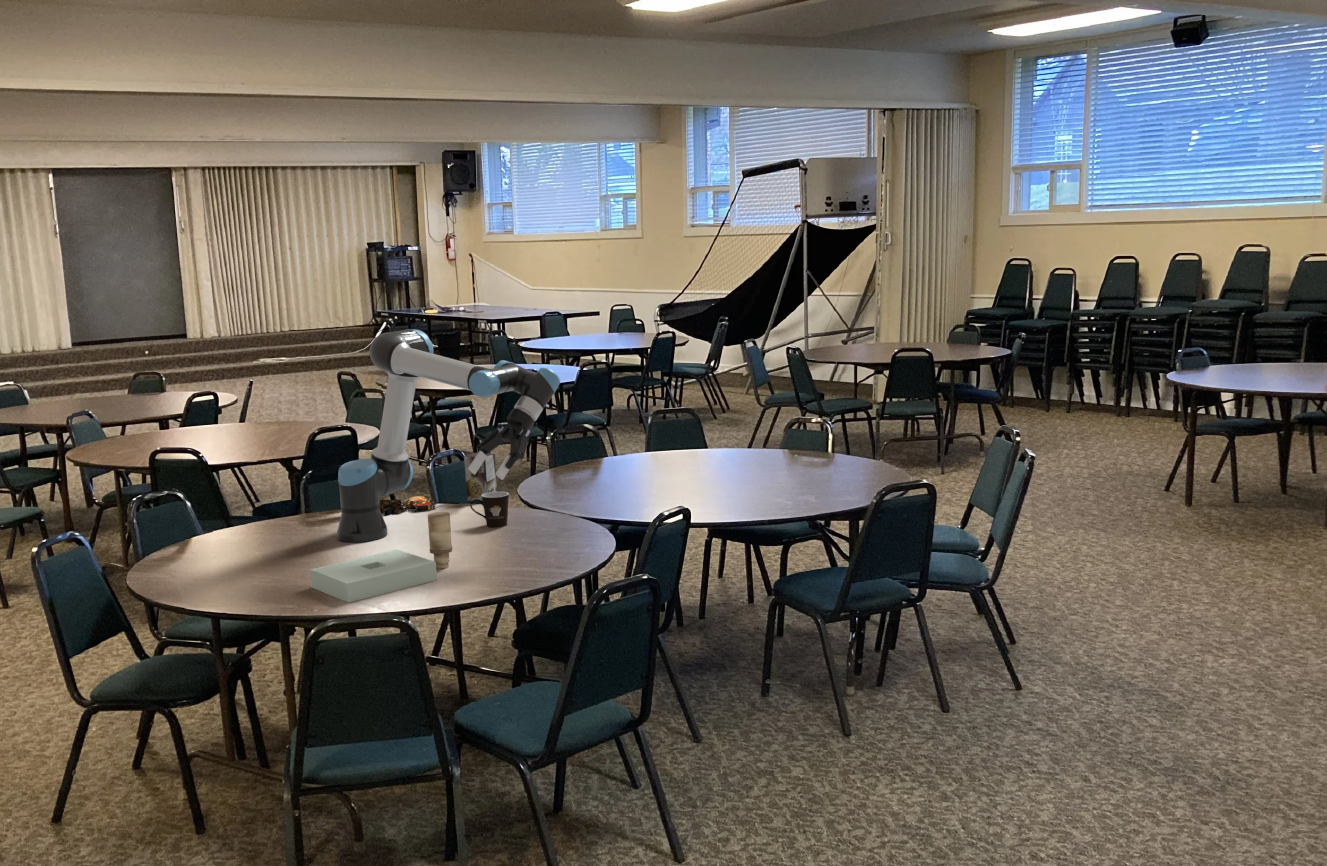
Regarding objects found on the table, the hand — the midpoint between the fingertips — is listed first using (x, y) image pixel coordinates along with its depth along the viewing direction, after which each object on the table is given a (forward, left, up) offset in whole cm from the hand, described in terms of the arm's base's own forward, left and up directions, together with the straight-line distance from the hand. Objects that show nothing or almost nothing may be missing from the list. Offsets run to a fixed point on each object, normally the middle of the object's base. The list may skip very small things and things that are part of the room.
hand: (484, 474), depth 329 cm
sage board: (-1, -37, -24) cm, 44 cm away
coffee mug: (-31, +22, -24) cm, 45 cm away
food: (-75, +17, -25) cm, 81 cm away
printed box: (-66, +42, -24) cm, 82 cm away
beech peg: (-1, -16, -24) cm, 28 cm away
